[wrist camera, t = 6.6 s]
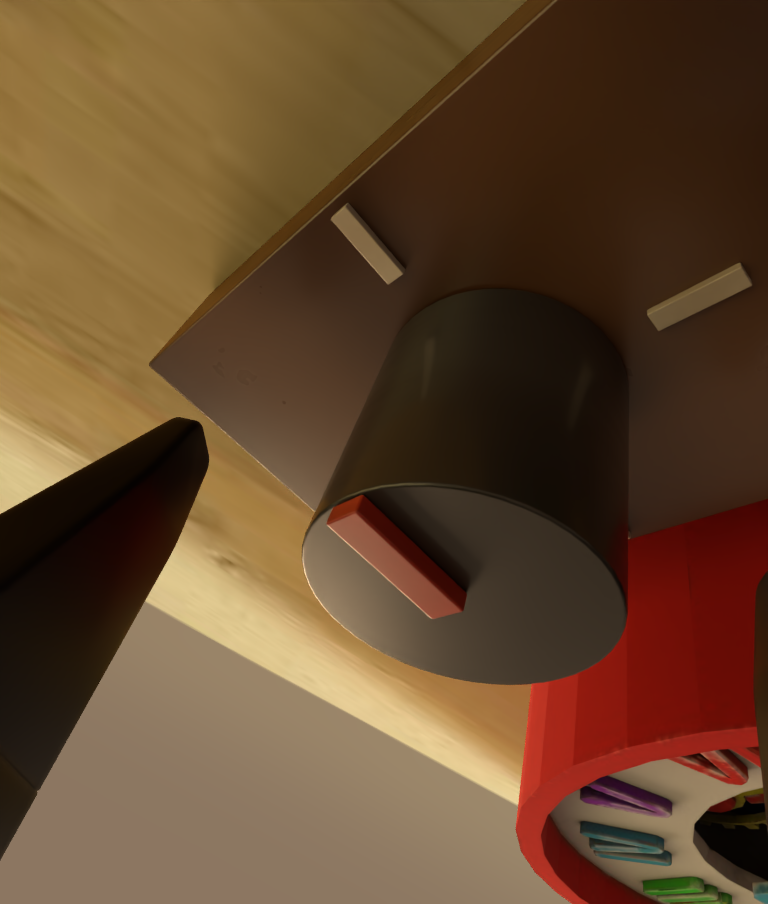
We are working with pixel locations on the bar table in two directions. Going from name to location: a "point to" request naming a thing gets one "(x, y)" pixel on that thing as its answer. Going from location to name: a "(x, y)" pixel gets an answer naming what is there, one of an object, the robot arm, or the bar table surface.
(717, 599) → the toy clock
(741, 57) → the dial panel
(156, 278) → the bar table surface
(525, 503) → the pointer knob
